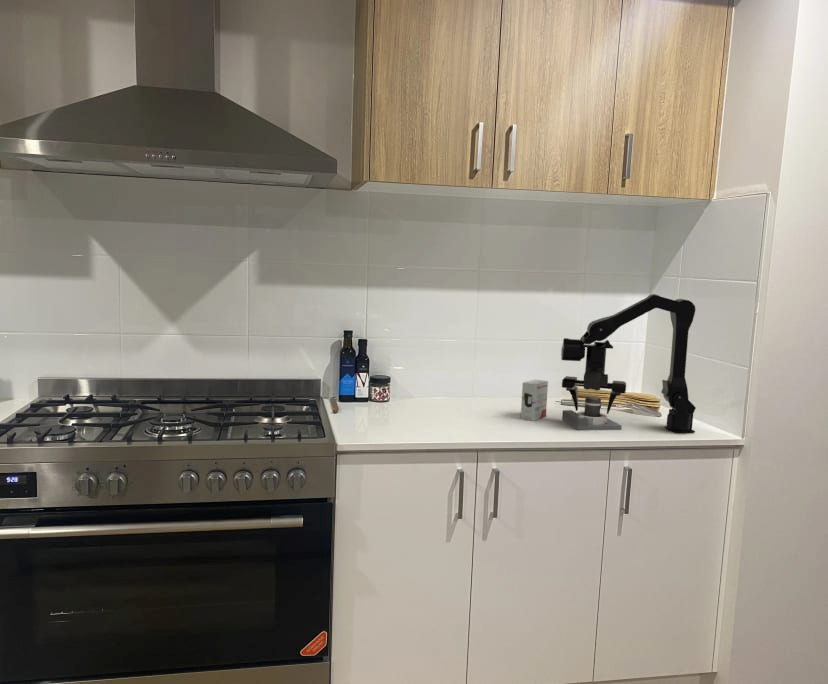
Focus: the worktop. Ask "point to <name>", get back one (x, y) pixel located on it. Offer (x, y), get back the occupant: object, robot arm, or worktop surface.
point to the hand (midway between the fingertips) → (592, 412)
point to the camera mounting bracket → (589, 421)
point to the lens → (592, 407)
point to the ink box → (534, 399)
